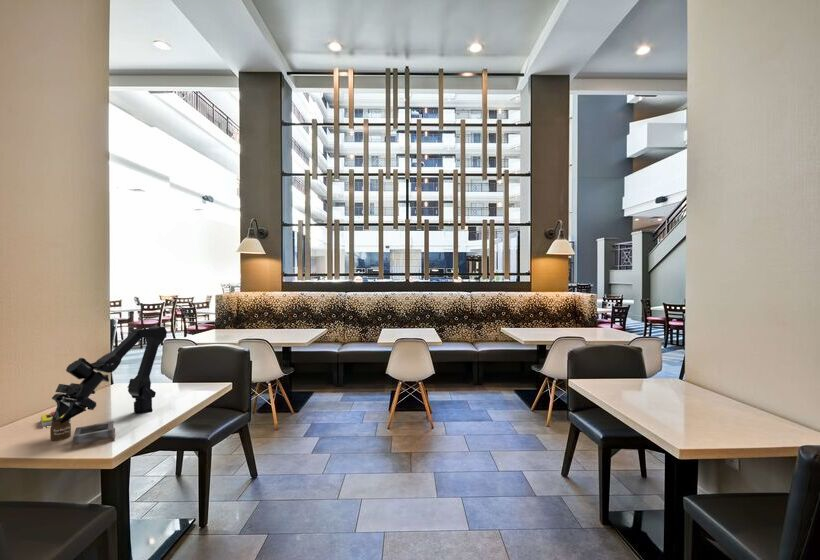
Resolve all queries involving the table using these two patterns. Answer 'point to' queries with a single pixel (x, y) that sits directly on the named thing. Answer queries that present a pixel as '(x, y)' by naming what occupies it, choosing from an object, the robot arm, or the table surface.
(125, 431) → the table surface
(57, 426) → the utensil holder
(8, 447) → the table surface
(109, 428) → the pocket plate
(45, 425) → the emergency button
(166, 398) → the table surface
